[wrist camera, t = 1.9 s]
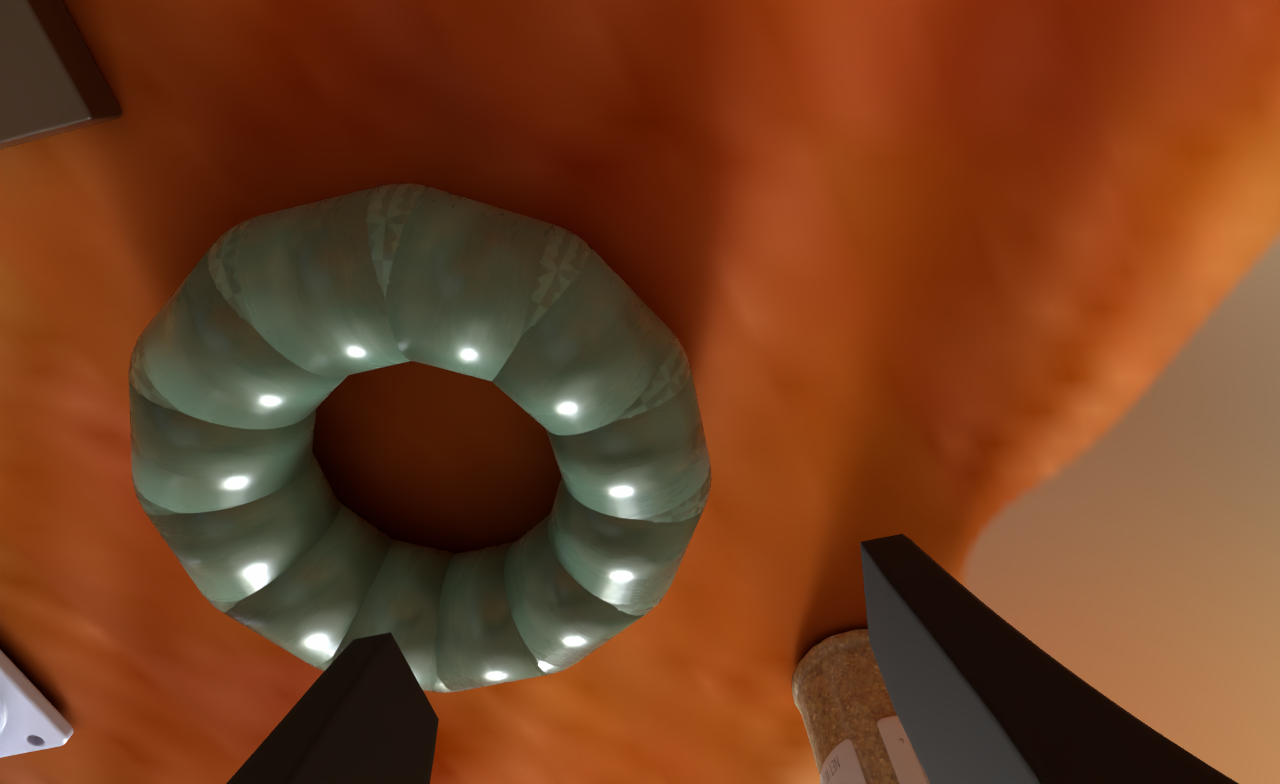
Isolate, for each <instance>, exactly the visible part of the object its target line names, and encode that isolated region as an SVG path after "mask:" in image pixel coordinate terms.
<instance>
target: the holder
mask: <svg viewBox="0 0 1280 784" xmlns="http://www.w3.org/2000/svg"><path fill="white" fill-rule="evenodd" d="M121 116H122V112H121V110H120V108H119V106H118V104H117V102H116V100H115V98H114V97H113V95H112V93H111V91H110V89H109V87H108V85H107V84H106V82H105V80H104V78H103V76H102V74H101V72H100V71H99V69H98V67H97V65H96V63H95V61H94V59H93V58H92V56H91V54H90V52H89V50H88V48H87V46H86V44H85V43H84V41H83V39H82V37H81V35H80V33H79V31H78V30H77V28H76V26H75V24H74V22H73V20H72V18H71V17H70V15H69V13H68V11H67V9H66V7H65V5H64V4H63V2H62V0H0V149H2V148H6V147H10V146H14V145H17V144H21V143H25V142H29V141H33V140H37V139H40V138H44V137H48V136H52V135H56V134H60V133H63V132H67V131H71V130H75V129H79V128H83V127H87V126H90V125H94V124H98V123H102V122H106V121H110V120H113V119H117V118H120V117H121Z"/></svg>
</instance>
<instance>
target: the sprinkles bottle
mask: <svg viewBox="0 0 1280 784" xmlns="http://www.w3.org/2000/svg"><path fill="white" fill-rule="evenodd" d="M792 694H793V698H794V703H795V705H796V706H797V708H798V709H799V711H800V713H801V714H802V716H803V721H804V724H805V727H806V730H807V734H808V737H809V741H810V744H811V746H812V750H813V754H814V758H815V761H816V765H817V768H818V771H819V774H820V783H821V784H931V783H930V781H929V779H928V777H927V775H926V773H925V771H924V769H923V767H922V765H921V763H920V761H919V759H918V757H917V755H916V753H915V751H914V749H913V747H912V745H911V743H910V741H909V739H908V737H907V735H906V733H905V731H904V728H903V726H902V724H901V722H900V720H899V718H898V716H897V714H896V712H895V710H894V707H893V705H892V702H891V699H890V697H889V694H888V691H887V689H886V686H885V683H884V681H883V678H882V675H881V673H880V670H879V667H878V664H877V662H876V659H875V656H874V653H873V651H872V648H871V645H870V642H869V634H868V629H858V630H852V631H848V632H844V633H841V634H837V635H834V636H831V637H828V638H826V639H824V640H823V641H822V642H821V643H819V644H817V645H815V646H814V647H813V648H812V649H811V650H810V651H809V652H808V653H807V654H806V655H805V656H804V658H803V659H802V660H801V661H799V663H798V664H797V668H796V670H795V671H794V673H793V677H792Z"/></svg>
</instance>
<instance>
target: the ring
mask: <svg viewBox="0 0 1280 784" xmlns="http://www.w3.org/2000/svg"><path fill="white" fill-rule="evenodd" d="M409 361H415V362H419V363H423V364H427V365H430V366H434V367H438V368H442V369H446V370H450V371H454V372H458V373H461V374H465V375H469V376H473V377H477V378H481V379H485V380H488V381H491V382H493V383H494V384H495V385H496V386H497V387H498V388H500V389H501V390H502V391H503V392H504V393H505V394H506V395H508V396H509V397H510V398H511V399H512V400H513V401H515V402H516V403H517V404H518V405H519V406H520V407H521V408H523V409H524V410H525V411H526V412H527V413H528V414H530V415H531V416H532V417H533V418H534V419H535V420H536V421H538V422H539V423H540V424H541V425H542V426H543V427H545V428H546V431H547V434H548V437H549V440H550V443H551V446H552V449H553V452H554V455H555V458H556V461H557V464H558V467H559V470H560V473H561V475H562V478H561V481H560V484H559V488H558V491H557V494H556V497H555V501H554V504H553V507H552V510H551V513H550V514H549V515H548V516H547V517H545V518H544V519H543V520H542V521H540V522H539V523H538V524H537V525H536V526H534V527H533V528H532V529H531V530H529V531H528V532H527V533H526V534H524V535H523V536H522V537H521V538H520V539H518V540H517V541H516V542H512V543H507V544H502V545H497V546H492V547H487V548H482V549H477V550H472V551H467V552H462V553H453V552H449V551H444V550H439V549H435V548H430V547H425V546H421V545H416V544H411V543H407V542H402V541H397V540H393V539H391V538H390V537H388V536H387V535H386V534H384V533H383V532H381V531H380V530H378V529H377V528H376V527H374V526H373V525H371V524H370V523H369V522H367V521H366V520H364V519H363V518H361V517H360V516H359V515H357V514H356V513H354V512H353V511H352V510H350V509H349V508H347V507H346V506H344V505H343V504H342V503H340V502H339V501H338V499H337V497H336V496H335V494H334V492H333V490H332V488H331V486H330V484H329V482H328V480H327V479H326V477H325V475H324V473H323V471H322V469H321V467H320V465H319V463H318V462H317V460H316V458H315V456H314V454H313V452H312V448H313V439H314V429H315V420H316V411H317V407H318V406H319V405H320V404H321V403H322V402H323V401H324V400H325V399H326V398H327V397H328V396H329V395H330V394H331V393H332V392H333V391H334V389H335V388H336V387H337V386H338V385H339V384H340V383H341V382H342V381H343V380H344V379H345V378H346V377H347V376H348V375H351V374H355V373H360V372H364V371H369V370H373V369H378V368H382V367H387V366H391V365H395V364H400V363H404V362H409ZM129 397H130V427H131V456H132V479H133V484H134V489H135V493H136V496H137V499H138V501H139V502H140V504H141V506H142V508H143V510H144V511H145V513H146V514H147V516H148V517H149V518H150V520H151V521H152V523H153V524H154V526H155V527H156V528H157V530H158V531H159V533H160V534H161V536H162V537H163V538H164V540H165V541H166V543H167V544H168V546H169V547H170V548H171V550H172V551H173V553H174V554H175V556H176V557H177V558H178V560H179V561H180V563H181V564H182V566H183V567H184V568H185V570H186V571H187V573H188V574H189V576H190V577H191V578H192V580H193V581H194V583H195V584H196V585H197V587H198V588H199V590H200V591H201V593H202V594H203V595H204V596H205V597H206V598H207V599H208V601H209V602H210V603H211V604H212V605H213V606H215V607H216V608H217V609H218V610H220V611H222V612H223V613H224V614H226V615H227V616H229V617H231V618H233V619H234V620H236V621H238V622H239V623H241V624H243V625H244V626H246V627H248V628H249V629H251V630H253V631H255V632H256V633H258V634H260V635H261V636H263V637H265V638H266V639H268V640H270V641H271V642H273V643H275V644H276V645H278V646H280V647H282V648H283V649H285V650H287V651H288V652H290V653H292V654H293V655H295V656H297V657H298V658H300V659H302V660H304V661H305V662H307V663H309V664H310V665H312V666H314V667H316V668H318V669H320V670H323V671H325V670H326V669H327V668H328V667H329V666H330V664H331V663H332V662H333V661H334V660H335V659H336V658H337V657H338V656H339V654H340V653H341V652H342V651H343V650H344V649H345V648H346V647H347V646H348V645H349V644H350V643H351V642H352V641H353V640H354V639H358V638H363V637H369V636H374V635H379V634H384V633H389V632H391V633H392V635H393V637H394V639H395V641H396V643H397V644H398V646H399V648H400V650H401V652H402V653H403V655H404V657H405V659H406V661H407V663H408V664H409V666H410V668H411V670H412V672H413V674H414V675H415V677H416V679H417V681H418V683H419V685H420V686H421V688H422V690H427V691H433V692H457V691H462V690H468V689H473V688H478V687H484V686H489V685H495V684H500V683H505V682H511V681H516V680H521V679H527V678H532V677H538V676H543V675H548V674H553V673H556V672H559V671H563V670H565V669H567V668H569V667H570V666H572V665H574V664H576V663H577V662H579V661H580V660H582V659H583V658H584V657H586V656H587V655H589V654H590V653H592V652H593V651H594V650H596V649H597V648H599V647H600V646H601V645H603V644H604V643H606V642H607V641H608V640H610V639H611V638H613V637H614V636H616V635H617V634H618V633H620V632H621V631H623V630H624V629H625V628H627V627H628V626H630V625H631V624H633V623H634V622H635V621H637V620H638V619H640V618H641V617H642V616H644V615H645V614H647V613H648V612H649V611H650V610H651V609H653V608H654V607H655V606H656V605H657V604H658V603H659V602H660V601H661V600H662V598H663V597H664V595H665V594H666V592H667V591H668V589H669V588H670V586H671V584H672V581H673V579H674V577H675V574H676V572H677V570H678V567H679V565H680V563H681V560H682V558H683V556H684V553H685V551H686V549H687V547H688V544H689V542H690V540H691V537H692V535H693V533H694V530H695V528H696V526H697V523H698V521H699V519H700V516H701V514H702V512H703V509H704V507H705V505H706V502H707V499H708V496H709V492H710V488H711V466H710V458H709V453H708V449H707V444H706V439H705V434H704V429H703V425H702V420H701V415H700V410H699V405H698V400H697V396H696V391H695V386H694V381H693V376H692V372H691V367H690V364H689V360H688V357H687V355H686V352H685V350H684V348H683V347H682V345H681V343H680V341H679V340H678V338H677V336H676V335H675V334H674V333H673V332H672V331H671V329H670V328H669V327H668V326H667V325H666V324H665V323H664V322H663V321H662V320H661V319H660V318H659V317H658V316H657V315H656V314H655V313H654V312H653V311H652V310H651V309H650V308H649V307H648V306H647V305H646V304H645V303H644V302H643V301H642V300H641V299H640V297H639V296H638V295H637V294H636V293H635V292H634V291H633V290H632V289H631V288H630V287H629V286H628V285H627V284H626V283H625V282H624V281H623V280H622V279H621V278H620V277H619V276H618V275H617V274H616V273H615V272H614V271H613V270H612V269H611V268H610V267H609V265H608V264H607V263H606V262H605V261H604V260H603V259H602V258H601V257H600V256H599V255H598V254H597V253H596V252H595V251H594V250H593V249H592V248H591V247H590V246H589V245H588V244H587V243H586V242H585V241H584V240H582V239H581V238H580V237H579V236H577V235H575V234H573V233H572V232H570V231H569V230H566V229H564V228H562V227H559V226H557V225H554V224H551V223H548V222H545V221H541V220H538V219H535V218H531V217H528V216H525V215H521V214H518V213H515V212H512V211H508V210H505V209H502V208H498V207H495V206H492V205H488V204H485V203H482V202H478V201H475V200H472V199H469V198H465V197H462V196H459V195H455V194H452V193H449V192H445V191H442V190H439V189H435V188H432V187H428V186H423V185H420V184H413V183H395V184H390V185H382V186H378V187H374V188H370V189H365V190H361V191H357V192H353V193H349V194H345V195H341V196H337V197H333V198H329V199H325V200H321V201H316V202H312V203H308V204H304V205H300V206H296V207H292V208H288V209H284V210H280V211H276V212H272V213H268V214H263V215H260V216H256V217H254V218H250V219H247V220H245V221H243V222H241V223H239V224H238V225H236V226H234V227H233V228H231V229H230V230H228V231H227V232H225V233H224V234H223V235H221V236H220V238H219V239H218V240H217V241H216V242H215V243H214V244H213V245H212V246H211V247H210V249H209V250H208V251H207V252H206V254H205V255H204V256H203V257H202V259H201V260H200V261H199V262H198V263H197V265H196V266H195V267H194V268H193V270H192V271H191V272H190V273H189V275H188V276H187V277H186V278H185V280H184V281H183V282H182V283H181V284H180V286H179V287H178V288H177V289H176V291H175V292H174V293H173V294H172V296H171V297H170V298H169V299H168V301H167V302H166V303H165V304H164V306H163V307H162V308H161V309H160V310H159V312H158V313H157V314H156V315H155V317H154V318H153V319H152V320H151V322H150V323H149V324H148V325H147V327H146V328H145V329H144V331H143V332H142V334H141V336H140V337H139V338H138V340H137V342H136V344H135V346H134V348H133V352H132V355H131V361H130V367H129Z"/></svg>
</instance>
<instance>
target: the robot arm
mask: <svg viewBox="0 0 1280 784" xmlns="http://www.w3.org/2000/svg"><path fill="white" fill-rule="evenodd" d="M860 546H861V557H862V568H863V579H864V590H865V601H866V612H867V623H868V634H869V642H870V645H871V648H872V651H873V653H874V656H875V659H876V662H877V664H878V667H879V670H880V673H881V675H882V678H883V681H884V683H885V686H886V689H887V691H888V694H889V697H890V699H891V702H892V705H893V707H894V710H895V712H896V714H897V716H898V718H899V720H900V722H901V724H902V726H903V728H904V731H905V733H906V735H907V737H908V739H909V741H910V743H911V745H912V747H913V749H914V751H915V753H916V755H917V757H918V759H919V761H920V763H921V765H922V767H923V769H924V771H925V773H926V775H927V777H928V779H929V781H930V783H931V784H1238V783H1237V782H1235V781H1234V780H1232V779H1230V778H1229V777H1227V776H1225V775H1224V774H1222V773H1220V772H1219V771H1217V770H1216V769H1214V768H1212V767H1211V766H1209V765H1208V764H1206V763H1205V762H1203V761H1201V760H1200V759H1198V758H1197V757H1195V756H1193V755H1192V754H1191V753H1189V752H1187V751H1186V750H1184V749H1183V748H1181V747H1180V746H1178V745H1177V744H1175V743H1173V742H1172V741H1170V740H1169V739H1167V738H1166V737H1164V736H1163V735H1161V734H1160V733H1158V732H1156V731H1155V730H1154V729H1152V728H1151V727H1149V726H1148V725H1146V724H1145V723H1143V722H1141V721H1140V720H1139V719H1137V718H1136V717H1134V716H1133V715H1131V714H1130V713H1129V712H1127V711H1126V710H1124V709H1123V708H1121V707H1120V706H1118V705H1117V704H1116V703H1114V702H1113V701H1111V700H1110V699H1108V698H1107V697H1106V696H1104V695H1103V694H1101V693H1100V692H1099V691H1097V690H1096V689H1094V688H1093V687H1091V686H1090V685H1089V684H1088V683H1086V682H1085V681H1083V680H1082V679H1081V678H1079V677H1078V676H1076V675H1075V674H1074V673H1072V672H1071V671H1070V670H1068V669H1067V668H1066V667H1064V666H1063V665H1062V664H1060V663H1059V662H1058V661H1056V660H1055V659H1054V658H1052V657H1051V656H1050V655H1048V654H1047V653H1046V652H1044V651H1043V650H1042V649H1040V648H1039V647H1038V646H1037V645H1035V644H1034V643H1033V642H1032V641H1030V640H1029V639H1028V638H1026V637H1025V636H1024V635H1022V634H1021V633H1020V632H1019V631H1018V630H1016V629H1015V628H1014V627H1013V626H1011V625H1010V624H1009V623H1007V622H1006V621H1005V620H1004V619H1002V618H1001V617H1000V616H999V615H997V614H996V613H995V612H994V611H993V610H991V609H990V608H989V607H987V606H986V605H985V604H984V603H983V602H981V601H980V600H979V599H978V598H977V597H976V596H974V595H973V594H972V593H971V592H970V591H969V590H967V589H966V588H965V587H964V586H963V585H962V584H960V583H959V582H958V581H957V580H956V579H955V578H953V577H952V576H951V575H950V574H949V573H948V572H946V571H945V570H944V569H943V568H942V567H941V566H940V565H939V564H937V563H936V562H935V561H934V560H933V559H932V558H931V557H930V556H928V555H927V554H926V553H925V552H924V551H923V550H922V549H921V548H920V547H918V546H917V545H916V544H915V543H914V542H913V541H912V540H911V539H910V538H908V537H906V536H905V535H903V534H899V535H894V536H889V537H883V538H878V539H873V540H868V541H863V542H860ZM438 720H439V719H438V717H437V716H436V714H435V712H434V710H433V708H432V706H431V705H430V703H429V701H428V699H427V697H426V695H425V694H424V692H423V690H422V688H421V686H420V685H419V683H418V681H417V679H416V677H415V675H414V674H413V672H412V670H411V668H410V666H409V664H408V663H407V661H406V659H405V657H404V655H403V653H402V652H401V650H400V648H399V646H398V644H397V643H396V641H395V639H394V637H393V635H392V633H391V632H389V633H384V634H379V635H374V636H369V637H363V638H358V639H354V640H353V641H352V642H351V643H350V644H349V645H348V646H347V647H346V648H345V649H344V650H343V651H342V652H341V653H340V654H339V656H338V657H337V658H336V659H335V660H334V661H333V662H332V663H331V664H330V666H329V667H328V668H327V669H326V670H325V671H324V672H323V674H322V675H321V676H320V677H319V678H318V679H317V680H316V682H315V683H314V684H313V685H312V686H311V687H310V688H309V690H308V691H307V692H306V693H305V694H304V695H303V697H302V698H301V699H300V700H299V701H298V702H297V704H296V705H295V706H294V707H293V708H292V709H291V711H290V712H289V713H288V714H287V715H286V716H285V717H284V719H283V720H282V721H281V722H280V723H279V724H278V726H277V727H276V728H275V729H274V730H273V731H272V732H271V734H270V735H269V736H268V737H267V738H266V739H265V740H264V742H263V743H262V744H261V745H260V746H259V747H258V748H257V750H256V751H255V752H254V753H253V754H252V755H251V756H250V758H249V759H248V760H247V761H246V762H245V763H244V764H243V766H242V767H241V768H240V769H239V770H238V771H237V772H236V773H235V775H234V776H233V777H232V778H231V779H230V780H229V781H228V782H227V783H226V784H430V777H431V771H432V765H433V759H434V751H435V743H436V735H437V728H438ZM72 734H73V728H72V726H71V724H70V723H69V722H68V721H67V720H66V719H65V718H64V717H63V716H62V715H61V714H60V713H59V712H58V711H57V709H56V708H55V707H54V706H53V705H52V704H51V703H50V702H49V701H48V700H47V699H46V698H45V697H44V696H43V694H42V693H41V692H40V691H39V690H38V689H37V688H36V687H35V686H34V685H33V684H32V683H31V682H30V681H29V680H28V678H27V677H26V676H25V675H24V674H23V673H22V672H21V671H20V670H19V669H18V668H17V667H16V666H15V665H14V663H13V662H12V661H11V660H10V659H9V658H8V657H7V656H6V655H5V654H4V653H3V652H2V651H1V650H0V757H5V756H10V755H15V754H21V753H26V752H31V751H37V750H42V749H47V748H52V747H58V746H61V745H64V744H65V743H66V742H67V740H68V739H69V738H70V737H71V735H72Z"/></svg>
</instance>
